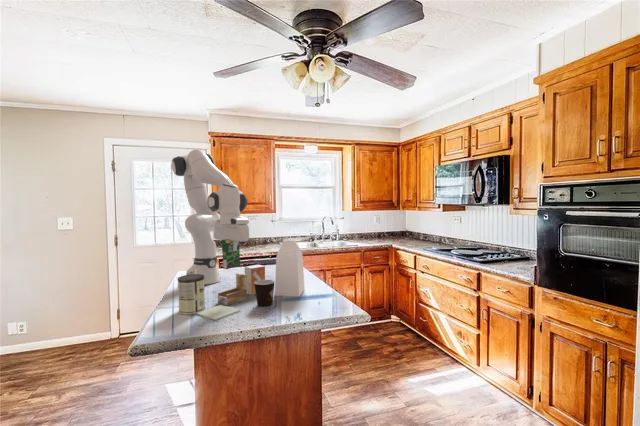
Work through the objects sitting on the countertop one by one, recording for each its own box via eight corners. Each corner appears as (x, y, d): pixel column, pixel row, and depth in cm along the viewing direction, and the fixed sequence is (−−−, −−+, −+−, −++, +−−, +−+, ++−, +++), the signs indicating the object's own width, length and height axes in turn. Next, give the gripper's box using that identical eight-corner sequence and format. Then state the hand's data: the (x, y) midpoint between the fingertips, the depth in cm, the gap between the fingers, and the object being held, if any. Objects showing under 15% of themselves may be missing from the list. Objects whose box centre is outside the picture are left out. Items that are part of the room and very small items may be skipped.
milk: (304, 289, 161) (303, 238, 160) (299, 296, 149) (298, 241, 149) (281, 288, 163) (281, 238, 162) (274, 295, 152) (273, 241, 151)
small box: (251, 295, 152) (251, 268, 152) (244, 292, 157) (244, 266, 156) (265, 291, 158) (265, 265, 157) (258, 289, 162) (258, 264, 162)
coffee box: (226, 269, 139) (225, 239, 139) (222, 268, 141) (221, 239, 140) (240, 266, 146) (239, 237, 145) (236, 265, 147) (235, 237, 147)
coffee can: (182, 307, 136) (181, 274, 135) (207, 305, 138) (206, 273, 137) (175, 315, 126) (174, 280, 125) (202, 313, 128) (201, 279, 127)
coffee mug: (262, 309, 132) (262, 285, 131) (250, 305, 137) (250, 282, 137) (284, 302, 140) (283, 280, 140) (271, 298, 146) (271, 277, 146)
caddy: (217, 302, 141) (217, 278, 141) (238, 296, 151) (237, 273, 151) (227, 305, 138) (226, 280, 137) (247, 298, 147) (246, 274, 147)
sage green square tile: (196, 314, 127) (196, 313, 127) (221, 306, 137) (221, 304, 137) (215, 320, 120) (215, 319, 120) (240, 311, 130) (240, 309, 130)
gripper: (209, 219, 146) (210, 249, 146) (240, 220, 134) (240, 253, 135) (221, 218, 151) (221, 247, 151) (251, 219, 139) (251, 251, 140)
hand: (231, 250), depth 143 cm, fingers closed on coffee box, 3 cm apart
